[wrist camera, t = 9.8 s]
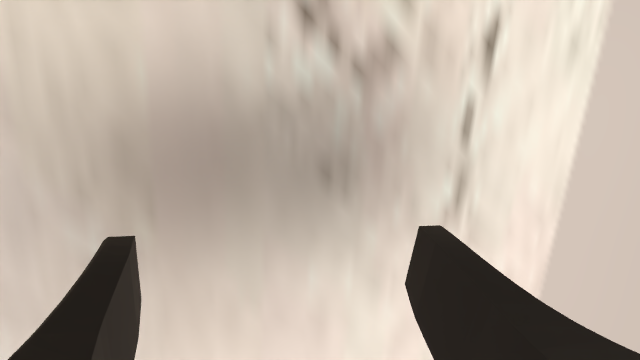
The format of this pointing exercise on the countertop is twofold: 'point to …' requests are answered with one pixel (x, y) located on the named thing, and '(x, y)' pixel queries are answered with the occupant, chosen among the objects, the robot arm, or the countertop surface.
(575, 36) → the countertop surface
